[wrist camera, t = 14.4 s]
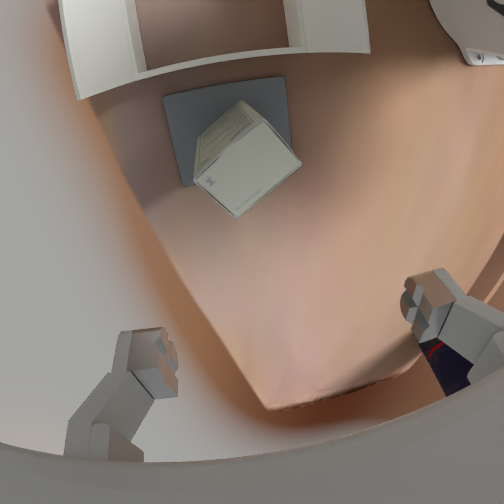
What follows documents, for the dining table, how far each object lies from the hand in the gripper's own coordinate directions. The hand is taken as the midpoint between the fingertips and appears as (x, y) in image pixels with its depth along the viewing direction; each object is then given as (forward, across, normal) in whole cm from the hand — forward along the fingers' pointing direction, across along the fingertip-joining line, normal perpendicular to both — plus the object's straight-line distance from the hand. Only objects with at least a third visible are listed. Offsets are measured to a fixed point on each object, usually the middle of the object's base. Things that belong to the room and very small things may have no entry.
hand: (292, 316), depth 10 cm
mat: (+25, 0, 0) cm, 25 cm away
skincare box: (+25, 0, 0) cm, 25 cm away
